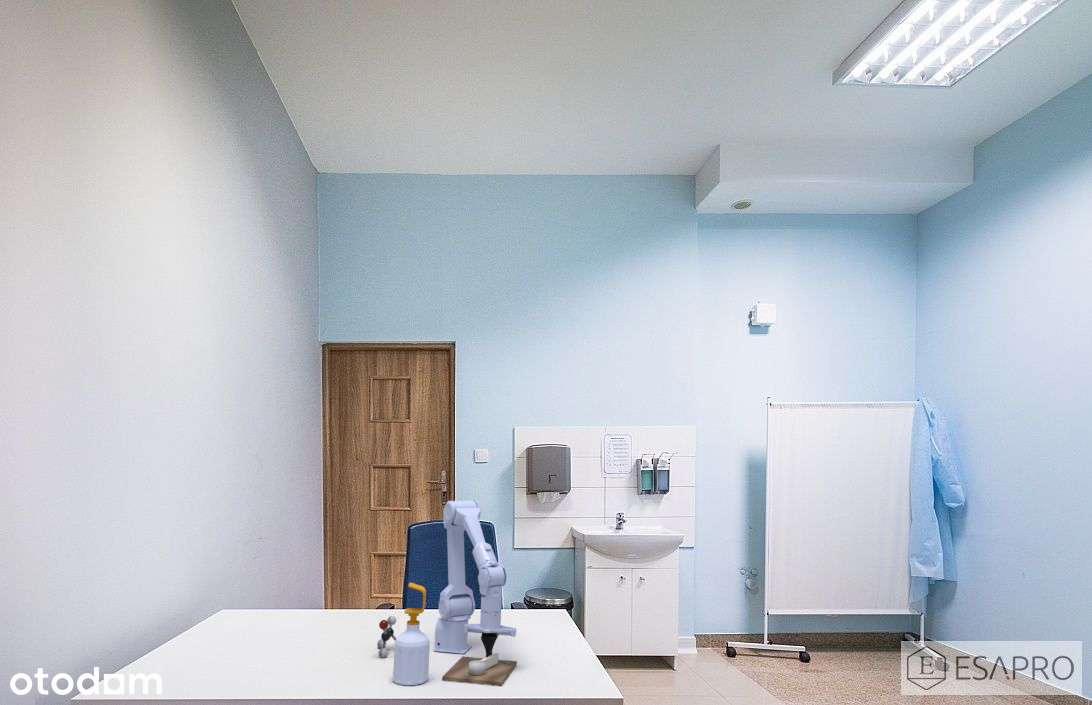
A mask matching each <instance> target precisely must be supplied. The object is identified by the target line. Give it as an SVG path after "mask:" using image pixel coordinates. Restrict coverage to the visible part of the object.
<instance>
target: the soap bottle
mask: <svg viewBox="0 0 1092 705" xmlns="http://www.w3.org/2000/svg"><path fill="white" fill-rule="evenodd" d="M407 586H408V588H410V589H413V590H417V591H420V592H421V593H422V595H423V596H422V597H423V598H422V607H421V608H418V607H417V608H414V607H413V608H408V607H407V608H405V609H404V614H408V615H407V616H409V620H407V621H406V630H405V631H403V632H401V633H400V634H399V635H398V636H397V637H396V640H394V651H393V653H394V654H393V668H392V669H393V671H392V672H393V673H392V674H393V675H392V679H393V682H394V683H395V684H396V685H400V686H406V685H412V686H417V685H418V684H419V685H421V684H423V683H426V682H427V681H428V679H429V672H430V671H429V669H430V668H429V667H430V666H429V665H430V648H431V647H430V645H431V643H430V642H431V641H430V638H429V636H428V635H427V634H426V633H424V632H423V631H421V630H420V621H419V620H418V617H419V615H420V614H423V612H424V611H425V608H426V602H427V590H426V588H425V587H424V586H423V585H420V584H417V583H414V582H409V583H408V585H407Z"/></svg>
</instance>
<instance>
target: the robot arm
mask: <svg viewBox="0 0 1092 705" xmlns="http://www.w3.org/2000/svg"><path fill="white" fill-rule="evenodd" d="M481 511H482V510H481V506H480V503H479V502H478V501H477V500H476V499H472V500H448V501H447V502H446V503H445V506H444V507H443V511H442V512H443V513H442V514H443V515H442V516H443V528H444V529H446V535H447V536H446V538H447V539H446V540H447V542H446V543H447V546H446V547H447V571H448V572H447V574H448V576H447V579H448V580H447V581H448V585H447V586H446V587H445V588H444V589H443V590H441V592H440V593H439V601H438V613H439V616H440V617H439V618H437V621H436V623H435V629H434V630H435V632H434V648H433V652H438V651H439V652H440V653H451V654H460V655H461V654H463V655H464V654H465V653H466V652H468V650H470V648H471V647H472V644H468V635H469V633H473V634H474V633H475V634H481V636H480V640H481V643H482V644H483V645H482V646H483V647H484V650H485V658H486V657H488V656H490V655H493V649H494V646H495V644H496V641H497V639H498V637H499V636H509V637H514V638H515V637H516V636H517V627H511V626H505V625H502V624H501V623H502V621H501V620H502V602H503V601H502V600H503V598H502V595H503V594H502V593H503V587H504V586H505V584H506V583H507V578H508V577H507V576H508V575H507V571H506V568H505V567H504V565H503V564H501V563H500V562H498V560H497V558H496V555H495V553H494V550H493V548H492V544H490V543H487V542H486V540H485V537H484V533H483V529H482V525H481V522H480V518H481V514H482V512H481ZM465 531H466V534H467V535H468V538H469V539H470V542H471V544H472V546H473V549H472V552H471V553H472V556H473V560H474V561H475V565H476V567H477V569H478V576H477V582H478V585H479V594H481V597H480V616H479V617H480V620H479V622H480V623H469V620H470V619H471V616H473V614H474V612H475V611H476V602H475V598H474V593H473V591H474V590H472V589H471V588H470V587H469V586H467V585H466V566H465V565H466V563H465V562H466V561H465V558H466V557H465V535H464V533H465Z"/></svg>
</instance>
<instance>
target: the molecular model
mask: <svg viewBox="0 0 1092 705" xmlns="http://www.w3.org/2000/svg"><path fill="white" fill-rule="evenodd" d="M395 624H397V617H396V616H394V615H390V616H388V618H387V619H382V620H380V621H379V624H378V627H379V628H380V630H382V631H383V632H382V633H381V636H380V639H379V640H378V641H377V642H376V645H377V646H376V647H378V648H379V650H378V653H377V654H378V656H379V657H380V658H381V659H384V658H386V657H387V656H388V654H389V652H388V649H387V648H386V646H387V641H389V640H390V639H391V638H392V639H393V640H394V641H395V640H396V638H397V637H396V636H395V634H394V633H395V632H394V631H395V630H394V629H393V628H392V627H393V626H394V625H395Z"/></svg>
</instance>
